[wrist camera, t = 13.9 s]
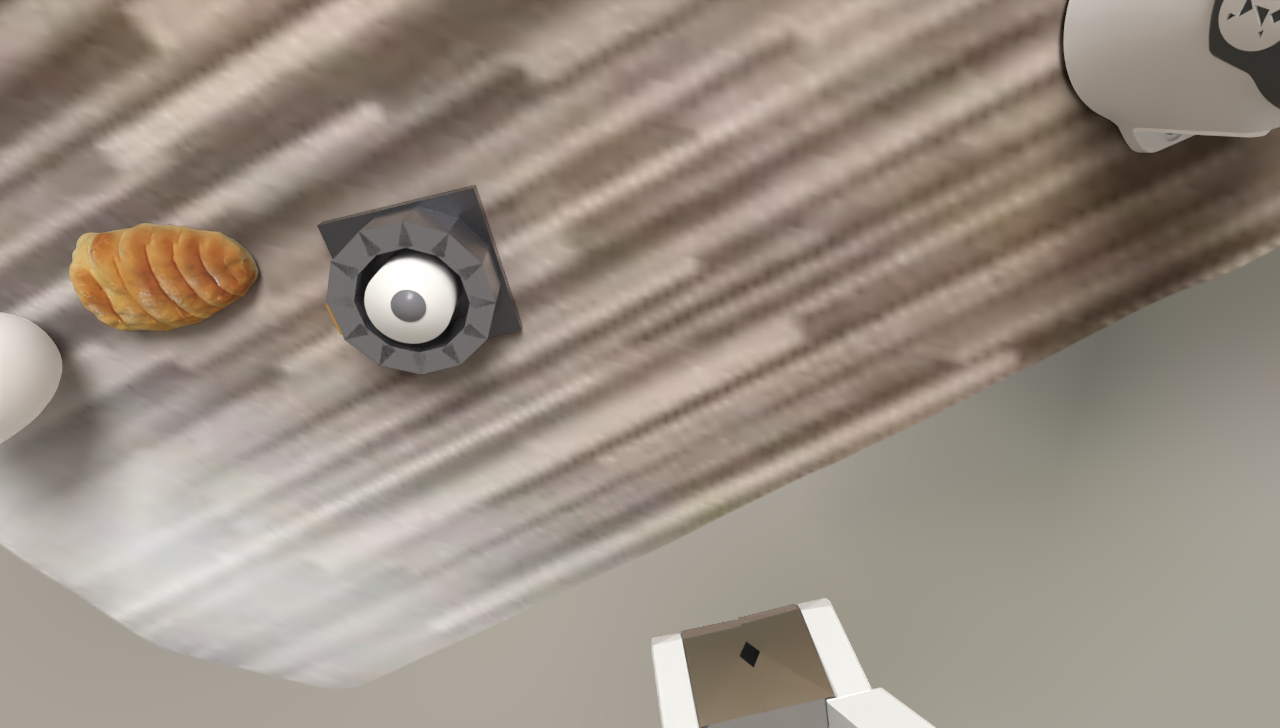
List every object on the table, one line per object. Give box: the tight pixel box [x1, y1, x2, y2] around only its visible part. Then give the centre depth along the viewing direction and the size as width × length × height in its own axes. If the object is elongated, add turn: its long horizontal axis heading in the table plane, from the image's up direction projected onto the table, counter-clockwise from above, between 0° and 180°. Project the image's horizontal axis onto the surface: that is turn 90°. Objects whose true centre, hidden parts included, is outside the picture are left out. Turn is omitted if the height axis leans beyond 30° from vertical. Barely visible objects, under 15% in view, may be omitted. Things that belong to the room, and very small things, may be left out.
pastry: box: [69, 223, 259, 331], centre depth 37 cm, size 9×7×4 cm
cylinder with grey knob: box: [364, 248, 462, 344], centre depth 38 cm, size 5×5×5 cm
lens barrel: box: [318, 185, 522, 375], centre depth 39 cm, size 10×10×5 cm
